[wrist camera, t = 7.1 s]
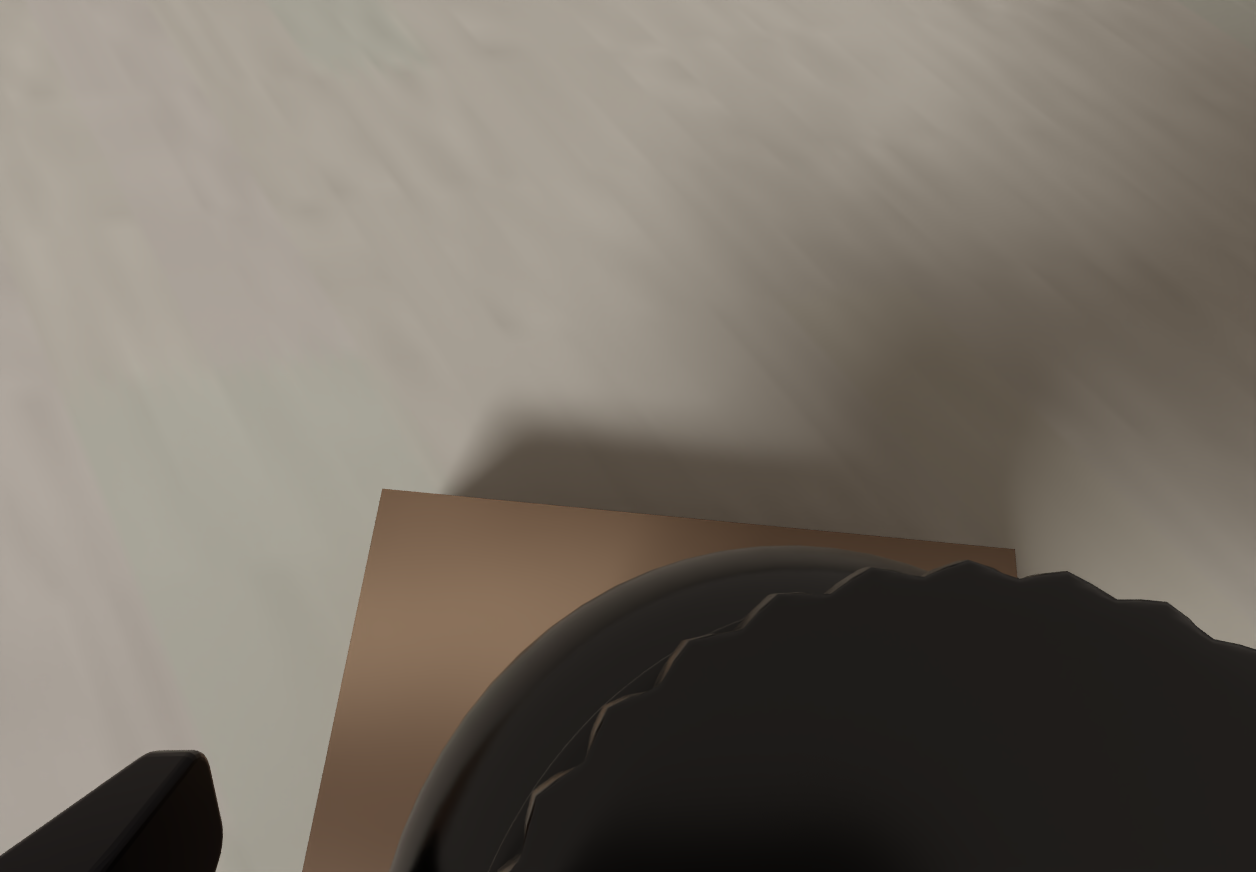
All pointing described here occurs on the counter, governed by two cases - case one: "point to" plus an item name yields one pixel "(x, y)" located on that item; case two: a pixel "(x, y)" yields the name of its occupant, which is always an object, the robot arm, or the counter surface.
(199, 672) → the counter surface
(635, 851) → the supplement bottle
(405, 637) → the walnut plinth
